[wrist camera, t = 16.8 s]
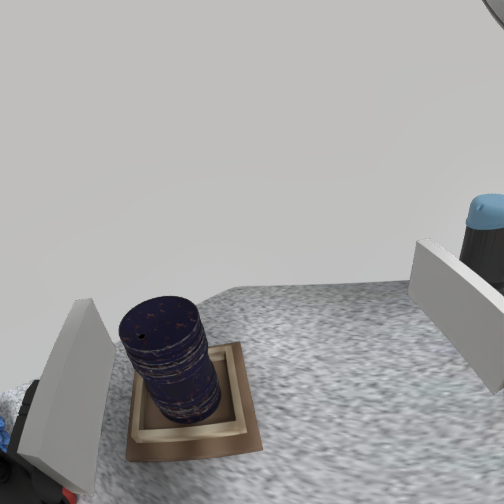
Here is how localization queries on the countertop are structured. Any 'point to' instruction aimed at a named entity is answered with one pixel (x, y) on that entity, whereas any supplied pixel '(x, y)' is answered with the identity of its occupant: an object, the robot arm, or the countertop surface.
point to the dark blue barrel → (172, 357)
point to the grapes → (3, 435)
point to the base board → (202, 433)
